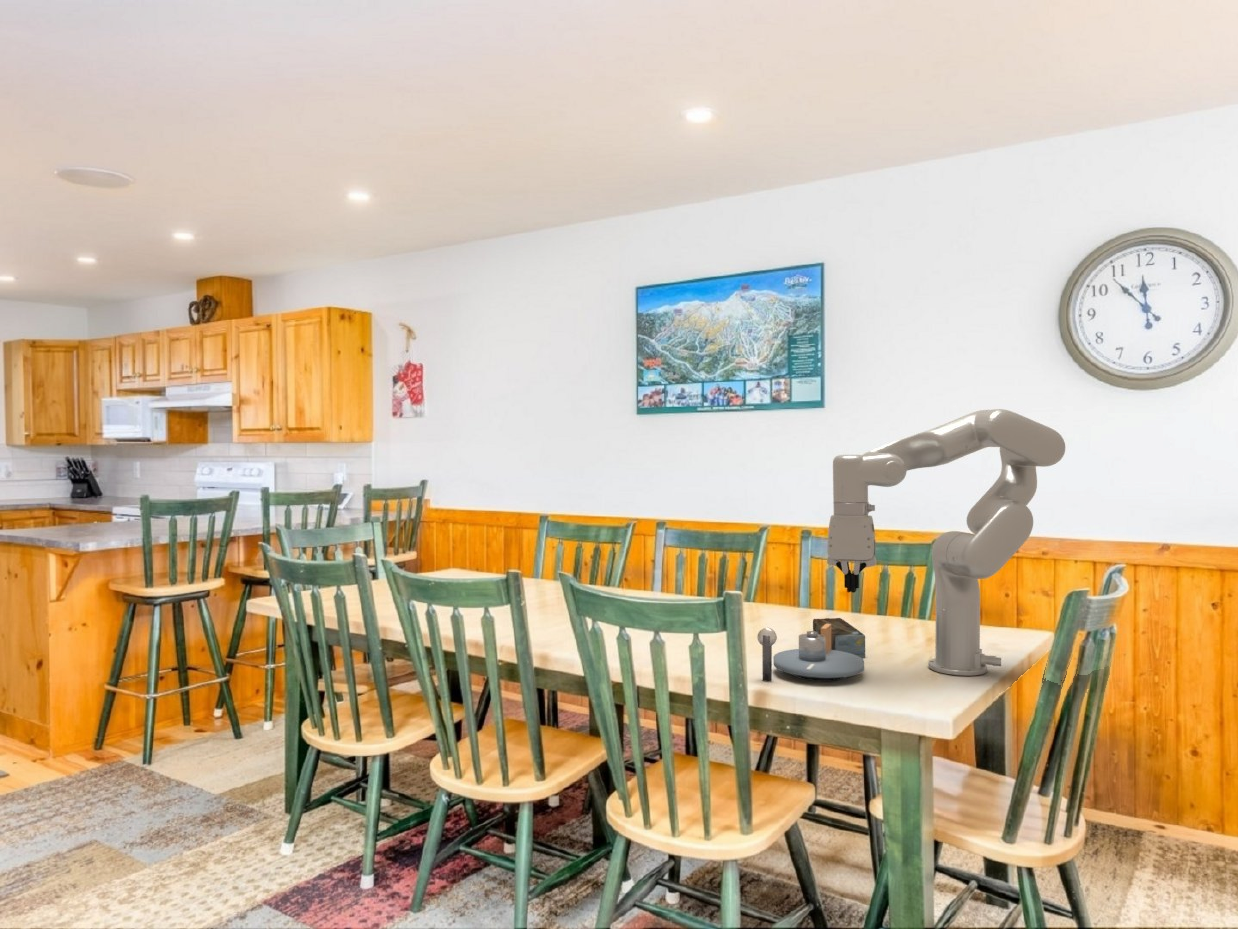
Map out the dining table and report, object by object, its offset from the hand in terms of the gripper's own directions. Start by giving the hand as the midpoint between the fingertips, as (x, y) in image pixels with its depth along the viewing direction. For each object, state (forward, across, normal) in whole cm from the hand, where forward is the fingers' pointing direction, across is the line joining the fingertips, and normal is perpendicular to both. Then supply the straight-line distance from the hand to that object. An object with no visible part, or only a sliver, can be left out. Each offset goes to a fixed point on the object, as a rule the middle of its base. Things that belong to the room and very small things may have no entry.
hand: (851, 591), depth 194 cm
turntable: (+17, +7, +2) cm, 18 cm away
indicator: (+18, +17, +12) cm, 28 cm away
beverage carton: (+19, +7, -23) cm, 31 cm away
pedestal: (+19, +7, +2) cm, 20 cm away
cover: (+15, +9, +2) cm, 18 cm away
